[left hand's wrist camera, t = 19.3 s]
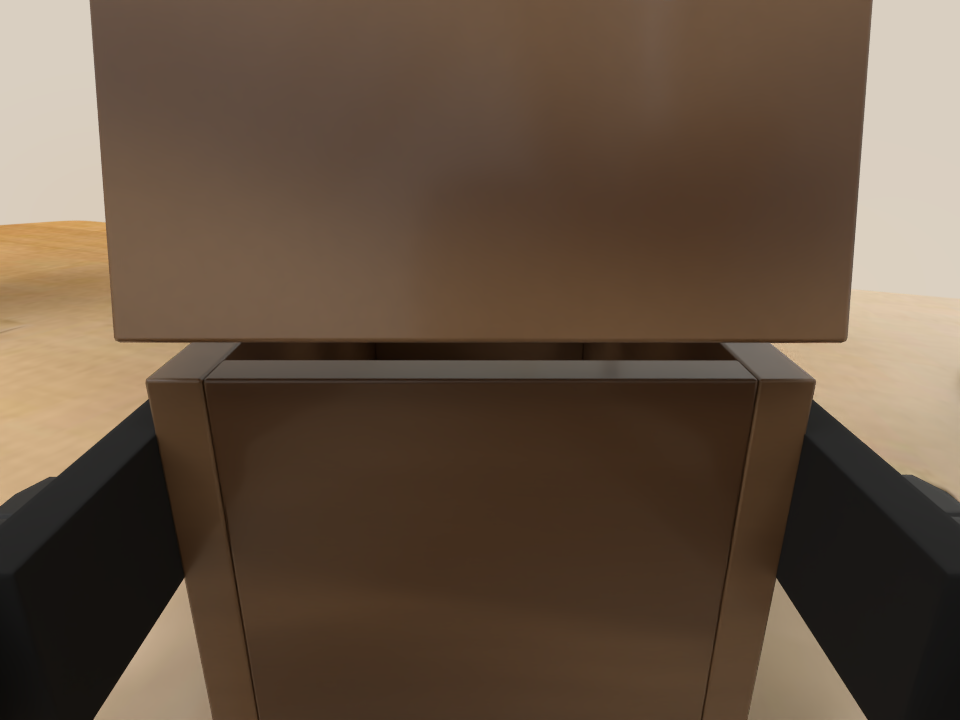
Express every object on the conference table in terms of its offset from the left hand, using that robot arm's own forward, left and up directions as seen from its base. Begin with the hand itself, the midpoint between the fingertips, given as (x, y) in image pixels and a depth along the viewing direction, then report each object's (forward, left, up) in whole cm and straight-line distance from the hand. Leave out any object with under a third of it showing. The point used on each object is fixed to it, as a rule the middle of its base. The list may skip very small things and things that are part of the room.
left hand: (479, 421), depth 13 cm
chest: (+4, -3, -7) cm, 8 cm away
